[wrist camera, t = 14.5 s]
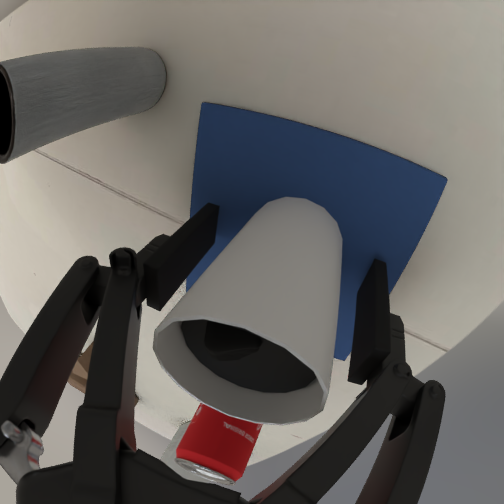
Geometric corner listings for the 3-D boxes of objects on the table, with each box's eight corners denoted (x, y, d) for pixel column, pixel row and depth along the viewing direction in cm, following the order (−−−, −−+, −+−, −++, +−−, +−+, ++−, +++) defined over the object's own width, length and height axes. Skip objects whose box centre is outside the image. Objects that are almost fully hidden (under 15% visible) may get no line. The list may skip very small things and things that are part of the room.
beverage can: (220, 337, 26) (158, 451, 16) (274, 337, 23) (218, 471, 14) (241, 372, 28) (192, 475, 18) (290, 374, 26) (248, 491, 16)
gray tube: (178, 59, 14) (20, 75, 6) (152, 123, 17) (13, 182, 8) (126, 39, 14) (-17, 56, 6) (107, 98, 16) (-23, 143, 8)
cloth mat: (204, 102, 15) (201, 102, 15) (446, 177, 13) (448, 179, 12) (187, 300, 24) (185, 303, 24) (344, 357, 22) (344, 361, 22)
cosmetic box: (231, 441, 42) (197, 515, 30) (216, 444, 46) (183, 510, 34) (189, 419, 42) (148, 494, 29) (177, 423, 46) (140, 489, 33)
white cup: (237, 267, 20) (161, 387, 12) (249, 176, 16) (141, 284, 8) (331, 297, 19) (298, 437, 11) (365, 209, 15) (362, 361, 7)
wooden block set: (129, 425, 40) (68, 389, 46) (144, 401, 45) (82, 371, 51) (78, 367, 32) (22, 332, 38) (101, 339, 36) (41, 313, 42)
